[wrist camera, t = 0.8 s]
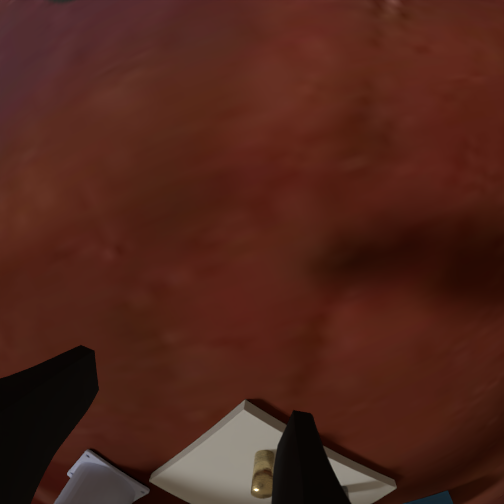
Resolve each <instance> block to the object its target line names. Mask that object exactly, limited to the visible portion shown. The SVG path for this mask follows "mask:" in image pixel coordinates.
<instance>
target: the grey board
mask: <svg viewBox="0 0 504 504" xmlns="http://www.w3.org/2000/svg"><path fill="white" fill-rule="evenodd" d="M286 426H287V425H286V424H284V423H282V422H281V421H279V420H277V419H276V418H274V417H272V416H271V415H269V414H267V413H266V412H264V411H263V410H261V409H259V408H258V407H256V406H255V405H253V404H252V403H250V402H248V401H247V400H244V401H243V402H242V403H241V404H239V405H238V406H237V407H236V408H235V409H234V410H232V411H231V412H230V413H229V414H228V415H227V416H225V417H224V418H223V419H222V420H221V421H219V422H218V423H217V424H216V425H214V426H213V427H212V428H211V429H210V430H208V431H207V432H206V433H205V434H203V435H202V436H201V437H200V438H198V439H197V440H196V441H194V442H193V443H192V444H191V445H189V446H188V447H187V448H185V449H184V450H183V451H182V452H180V453H179V454H178V455H176V456H175V457H174V458H172V459H171V460H169V461H168V462H167V463H165V464H164V465H163V466H161V467H160V468H158V469H157V470H156V471H154V472H153V473H152V475H151V477H150V479H149V481H150V482H151V483H153V484H155V485H156V486H158V487H160V488H162V489H164V490H165V491H167V492H169V493H171V494H173V495H175V496H177V497H178V498H180V499H182V500H184V501H186V502H188V503H190V504H271V501H272V496H271V497H269V498H265V499H260V498H256V497H254V496H252V495H251V485H252V476H253V467H254V457H255V453H256V452H257V451H260V450H269V451H272V452H273V453H274V454H275V457H276V451H277V445H278V443H279V441H280V439H281V436H282V434H283V432H284V430H285V428H286ZM323 447H324V450H325V452H326V454H327V457H328V459H329V461H330V464H331V466H332V468H333V470H334V472H335V474H336V477H337V478H338V480H339V482H340V484H341V486H346V487H347V488H348V493H349V498H350V502H351V503H352V504H372V503H374V502H375V501H377V500H379V499H380V498H382V497H384V496H385V495H387V494H388V493H390V492H392V491H393V490H395V489H396V488H397V487H396V483H395V480H394V479H391V478H389V477H387V476H384V475H382V474H380V473H378V472H376V471H373V470H371V469H369V468H367V467H365V466H363V465H360V464H358V463H356V462H354V461H352V460H350V459H348V458H346V457H344V456H342V455H340V454H338V453H336V452H334V451H332V450H331V449H329V448H327V447H325V446H323Z"/></svg>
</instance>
